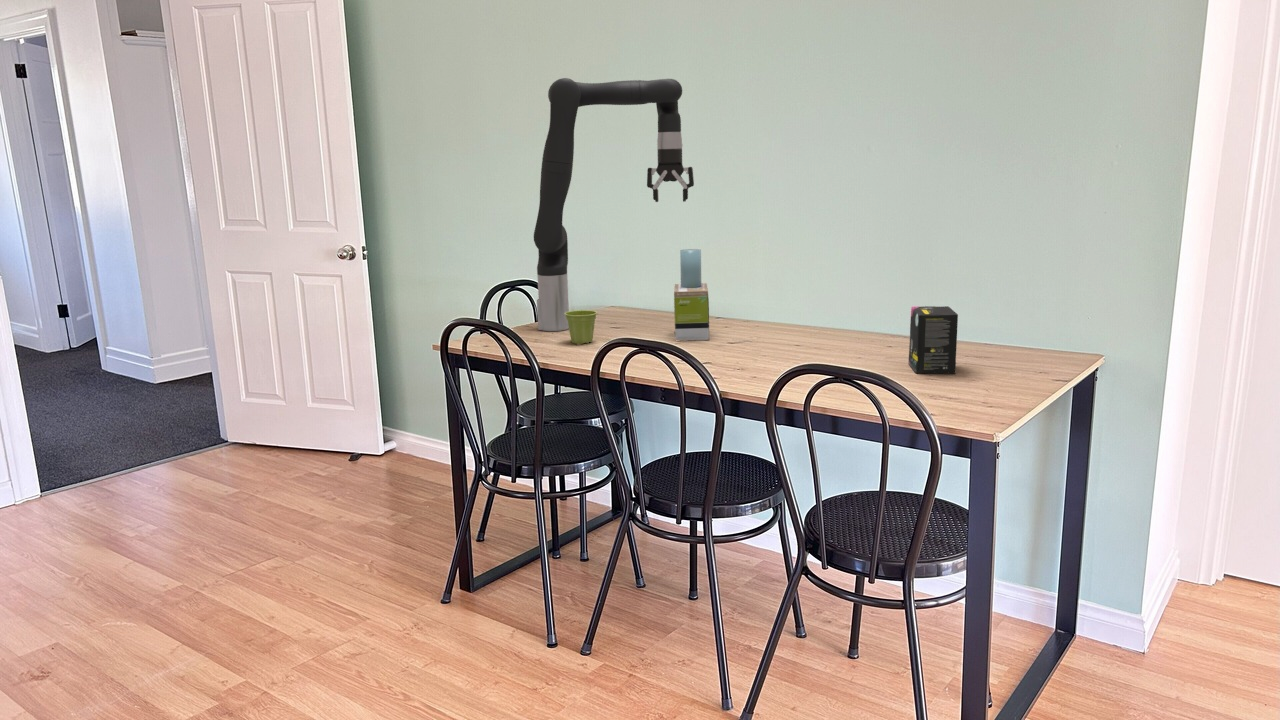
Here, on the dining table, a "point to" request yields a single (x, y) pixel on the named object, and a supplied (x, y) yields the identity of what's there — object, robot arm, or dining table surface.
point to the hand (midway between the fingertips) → (670, 201)
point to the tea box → (691, 312)
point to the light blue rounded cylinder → (690, 268)
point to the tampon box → (933, 340)
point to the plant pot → (581, 325)
